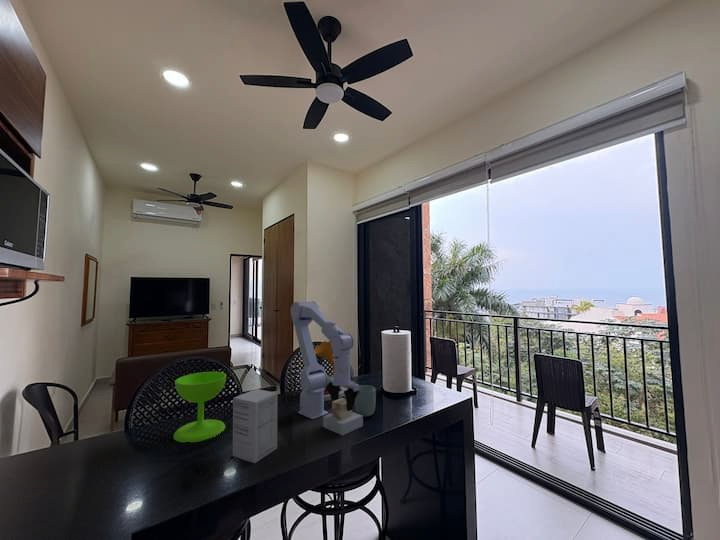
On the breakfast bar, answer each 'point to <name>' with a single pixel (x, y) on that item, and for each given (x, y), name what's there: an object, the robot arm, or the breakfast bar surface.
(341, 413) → the maple cube
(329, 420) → the grey base block
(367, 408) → the cup
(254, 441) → the supplement box
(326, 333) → the robot arm
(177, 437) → the wineglass
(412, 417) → the breakfast bar surface
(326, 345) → the gramophone
